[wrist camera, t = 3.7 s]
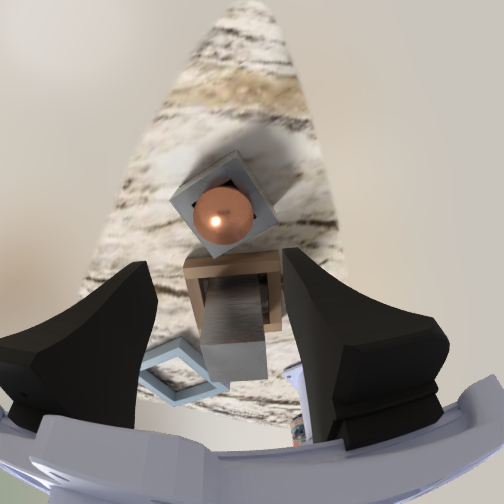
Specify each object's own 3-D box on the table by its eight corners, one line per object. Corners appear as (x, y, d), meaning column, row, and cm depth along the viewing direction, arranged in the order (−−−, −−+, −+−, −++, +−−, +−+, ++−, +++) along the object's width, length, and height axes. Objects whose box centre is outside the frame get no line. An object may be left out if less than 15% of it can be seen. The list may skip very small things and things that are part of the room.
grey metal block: (257, 270, 24) (265, 340, 17) (260, 307, 26) (267, 378, 19) (209, 274, 24) (199, 345, 17) (216, 311, 26) (211, 382, 19)
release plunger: (260, 206, 20) (264, 226, 17) (218, 231, 21) (215, 254, 18) (233, 165, 19) (232, 177, 16) (190, 192, 20) (181, 209, 17)
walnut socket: (277, 250, 23) (279, 259, 22) (280, 319, 26) (281, 330, 25) (185, 258, 23) (182, 268, 22) (201, 325, 26) (200, 336, 25)
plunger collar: (273, 206, 21) (278, 222, 18) (216, 239, 22) (214, 258, 20) (236, 149, 19) (236, 156, 16) (178, 187, 20) (169, 200, 17)
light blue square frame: (229, 379, 31) (229, 390, 29) (175, 397, 33) (174, 407, 31) (180, 336, 27) (178, 347, 26) (126, 360, 29) (123, 370, 28)
